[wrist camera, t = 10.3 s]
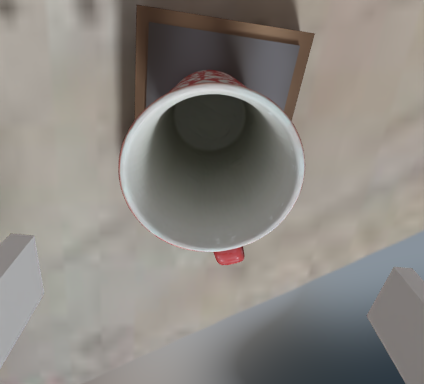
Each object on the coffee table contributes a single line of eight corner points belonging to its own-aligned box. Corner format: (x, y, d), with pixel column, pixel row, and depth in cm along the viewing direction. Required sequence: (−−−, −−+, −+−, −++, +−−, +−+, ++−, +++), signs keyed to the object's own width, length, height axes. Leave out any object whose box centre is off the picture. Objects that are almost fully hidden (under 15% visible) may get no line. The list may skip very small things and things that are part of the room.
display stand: (140, 188, 35) (132, 208, 31) (145, 7, 26) (135, 4, 22) (258, 201, 36) (265, 222, 32) (300, 33, 27) (315, 33, 24)
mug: (145, 65, 24) (90, 100, 13) (256, 47, 24) (307, 67, 12) (175, 198, 30) (158, 306, 19) (265, 186, 30) (304, 289, 18)
